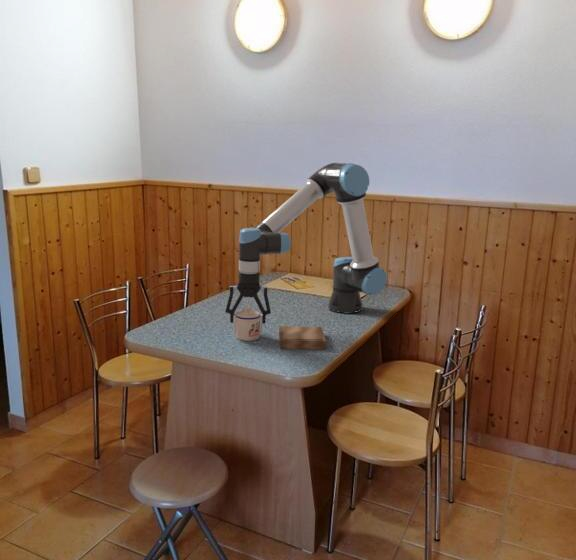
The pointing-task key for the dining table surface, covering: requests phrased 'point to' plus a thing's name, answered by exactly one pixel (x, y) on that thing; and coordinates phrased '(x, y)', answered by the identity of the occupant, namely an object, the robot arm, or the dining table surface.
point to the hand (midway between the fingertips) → (247, 331)
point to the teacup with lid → (247, 324)
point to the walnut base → (301, 337)
